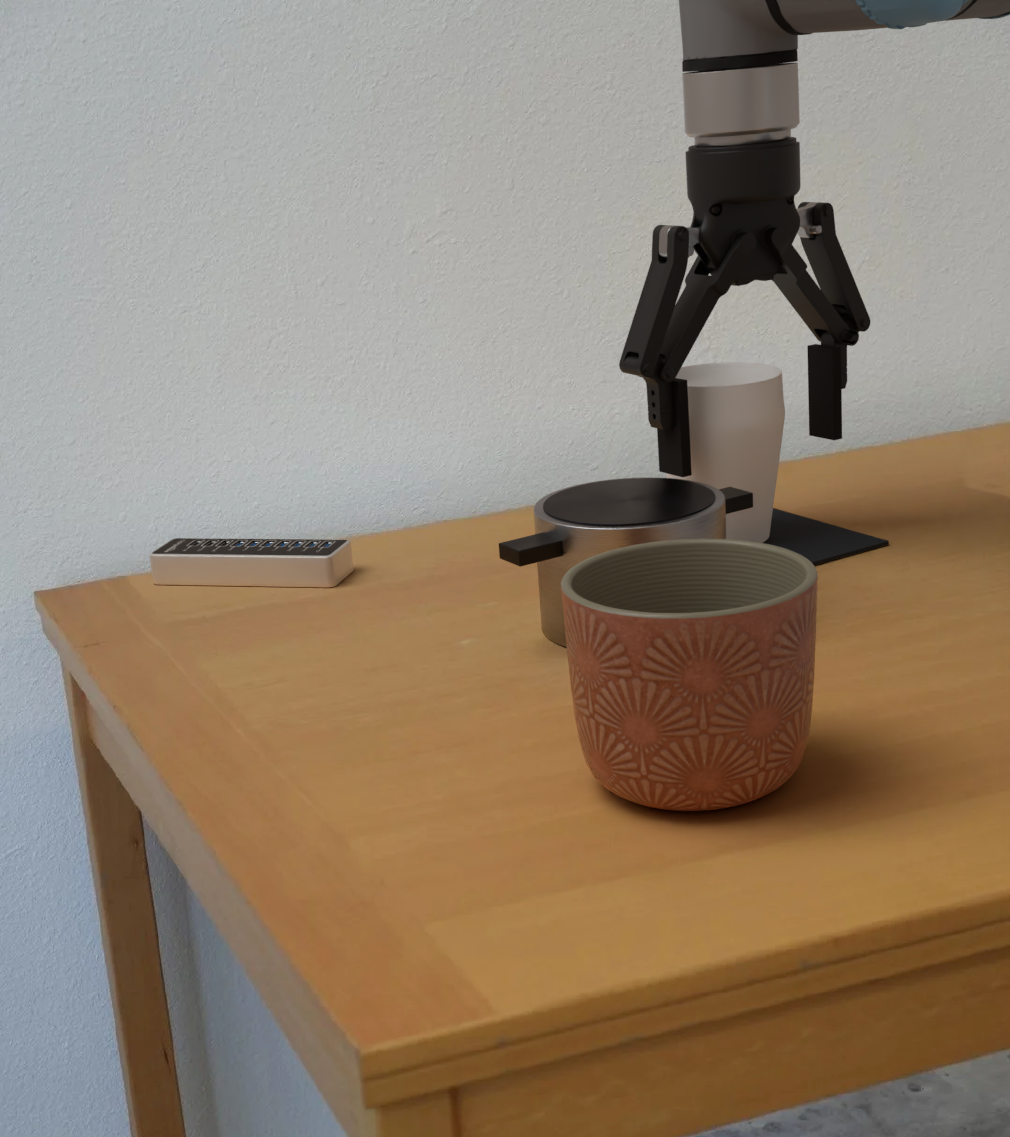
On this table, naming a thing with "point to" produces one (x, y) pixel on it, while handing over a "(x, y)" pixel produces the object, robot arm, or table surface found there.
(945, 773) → the table surface
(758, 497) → the cup
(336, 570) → the multiport hub
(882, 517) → the table surface
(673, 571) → the planter
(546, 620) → the steel pot
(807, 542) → the mat
